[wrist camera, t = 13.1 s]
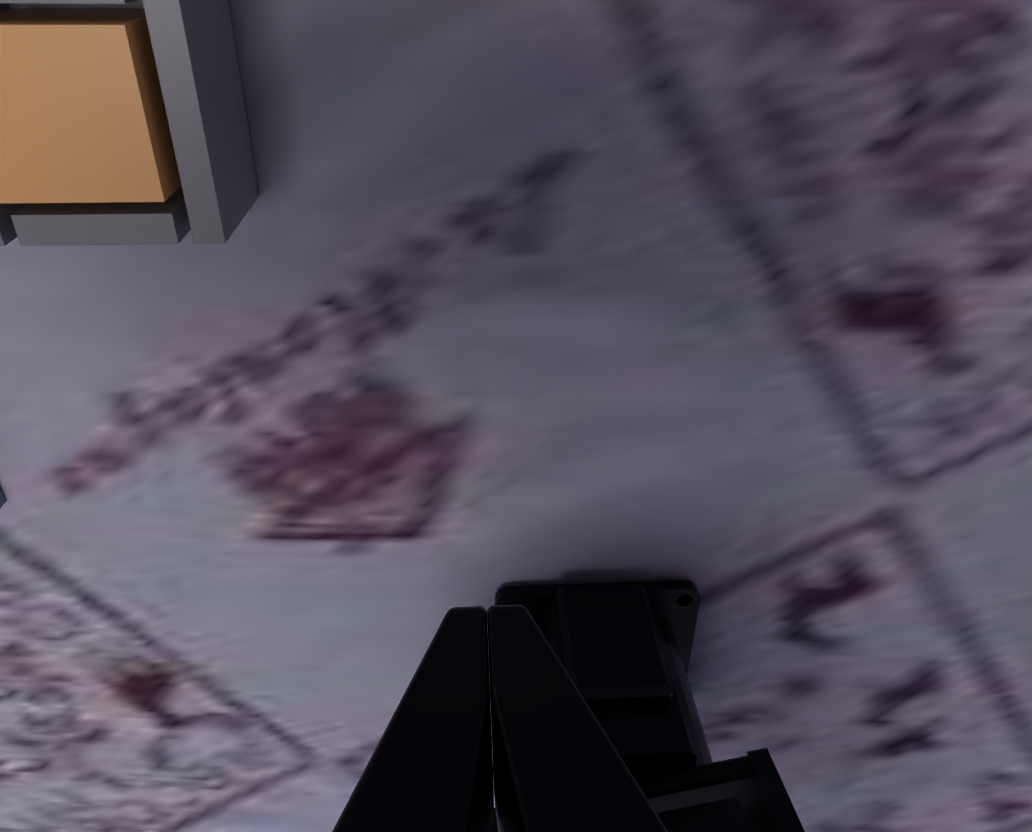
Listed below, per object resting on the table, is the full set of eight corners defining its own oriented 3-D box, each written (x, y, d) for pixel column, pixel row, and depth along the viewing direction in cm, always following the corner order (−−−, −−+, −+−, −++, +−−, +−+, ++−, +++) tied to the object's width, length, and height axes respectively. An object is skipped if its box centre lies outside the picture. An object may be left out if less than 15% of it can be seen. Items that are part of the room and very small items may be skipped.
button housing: (259, 195, 18) (225, 243, 16) (44, 196, 18) (-28, 245, 16) (220, -45, 16) (172, -37, 13) (-30, -47, 16) (-132, -39, 13)
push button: (203, 164, 17) (164, 201, 15) (60, 165, 17) (-2, 203, 15) (173, 9, 16) (124, 25, 13) (15, 8, 16) (-61, 24, 13)
